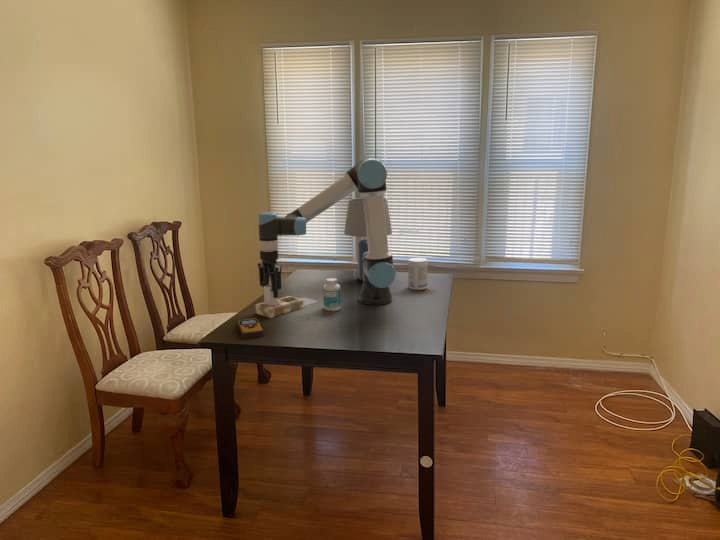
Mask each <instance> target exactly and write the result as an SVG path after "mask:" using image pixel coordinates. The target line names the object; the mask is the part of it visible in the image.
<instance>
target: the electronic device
mask: <svg viewBox="0 0 720 540" xmlns="http://www.w3.org/2000/svg"><path fill="white" fill-rule="evenodd" d="M237 327H238V331H239V334H240V335H241V338H242V339H244V340H245V339H253V338H261V337H264V333H265V332H264V329H263V327H262V325H261V323H260V321H259V320H258V319H257V317H249V318H240V319H238V320H237Z"/></svg>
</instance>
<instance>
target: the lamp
mask: <svg viewBox="0 0 720 540" xmlns="http://www.w3.org/2000/svg"><path fill="white" fill-rule="evenodd" d="M388 202H389V201H388V199H386V198H384V207H385V218H386V229H387V236H390V235H392V234H393V230H392V223H391V217H390V211H389V203H388ZM343 234H344V235H345V236H349V237H356V238H357V237H358V238H364V239H361V240H359V242H358V244H357V276H358V279H359V280H360V281H362V282H363V259H362V258H363V253H364V252H368V243H367V233H366V223H365V213H364V203H363V197H359V198H357V197H356V198H355V197H354V198H349V199H348V204H347V211H346V218H345V226H344V232H343Z"/></svg>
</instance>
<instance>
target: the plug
mask: <svg viewBox="0 0 720 540" xmlns="http://www.w3.org/2000/svg"><path fill="white" fill-rule="evenodd" d="M271 290H272V285H271V283H269V284H268V285H266V286H264V290H263V302H264V305H267V306H270V307H272V305H271ZM278 298H279V297H278ZM278 298H277V299H278ZM277 305H278V304H277ZM274 306H276V305H274Z"/></svg>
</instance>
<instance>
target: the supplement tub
mask: <svg viewBox="0 0 720 540" xmlns="http://www.w3.org/2000/svg"><path fill="white" fill-rule="evenodd" d="M407 267H408V269H407V271H408V273H407V276H408V279H407V281H408V288H409V290H410V289H411V290H414V291H423V290H426V289H427V288H428V259H427V258H424V257H411V258H409V259H408V264H407Z"/></svg>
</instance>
